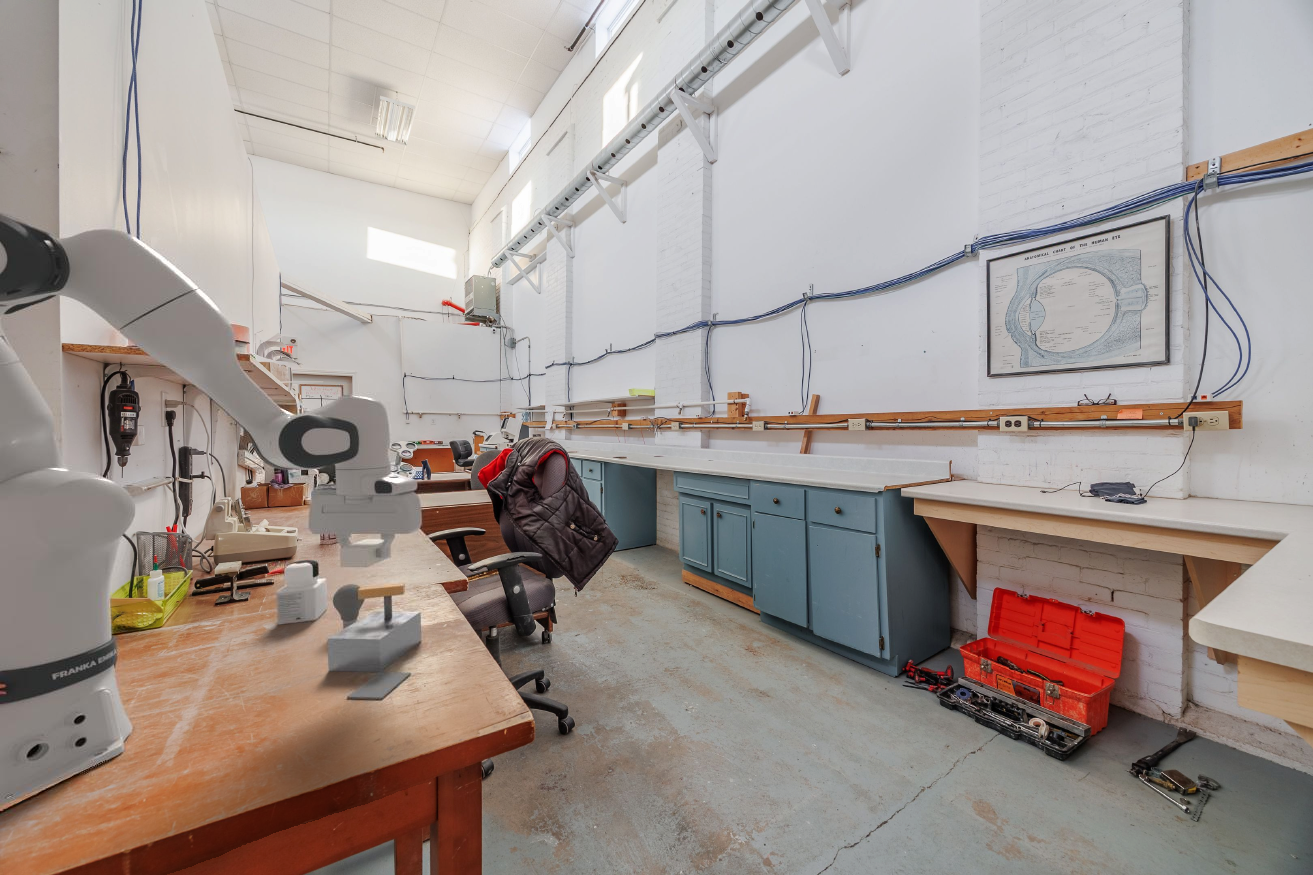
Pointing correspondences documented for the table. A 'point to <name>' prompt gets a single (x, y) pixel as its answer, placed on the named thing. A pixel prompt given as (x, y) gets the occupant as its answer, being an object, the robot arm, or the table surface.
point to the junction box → (374, 642)
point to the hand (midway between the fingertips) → (366, 557)
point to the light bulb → (348, 603)
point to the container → (301, 593)
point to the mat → (379, 685)
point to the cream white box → (361, 553)
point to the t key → (383, 595)
